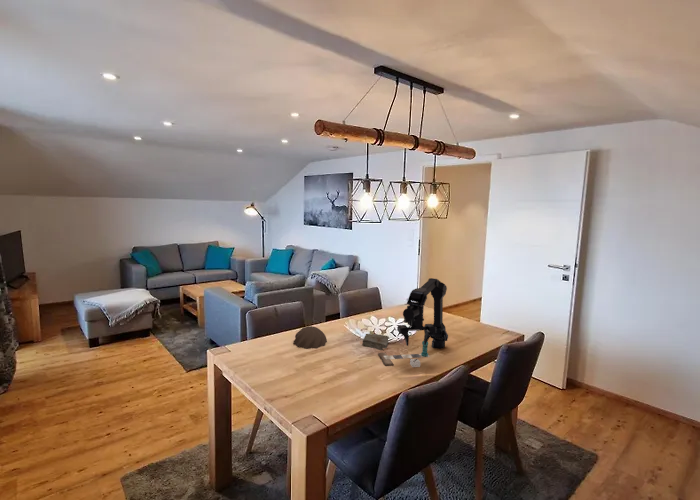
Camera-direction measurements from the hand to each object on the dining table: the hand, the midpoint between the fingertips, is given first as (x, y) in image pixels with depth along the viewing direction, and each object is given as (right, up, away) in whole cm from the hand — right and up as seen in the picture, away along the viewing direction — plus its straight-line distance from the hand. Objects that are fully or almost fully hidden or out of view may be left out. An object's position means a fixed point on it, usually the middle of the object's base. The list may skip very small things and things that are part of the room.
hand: (415, 345), depth 189 cm
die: (0, -12, +2) cm, 12 cm away
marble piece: (-18, -8, +32) cm, 37 cm away
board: (-3, -10, +12) cm, 16 cm away
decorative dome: (-57, -7, +32) cm, 66 cm away
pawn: (+7, -9, +14) cm, 18 cm away
